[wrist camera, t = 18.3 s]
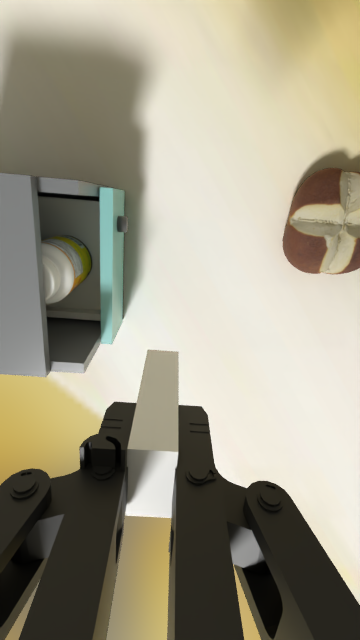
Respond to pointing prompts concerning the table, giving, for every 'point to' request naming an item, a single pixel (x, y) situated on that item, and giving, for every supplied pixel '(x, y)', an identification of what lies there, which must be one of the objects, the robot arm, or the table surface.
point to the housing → (36, 284)
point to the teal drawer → (106, 250)
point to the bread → (325, 223)
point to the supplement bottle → (64, 266)
